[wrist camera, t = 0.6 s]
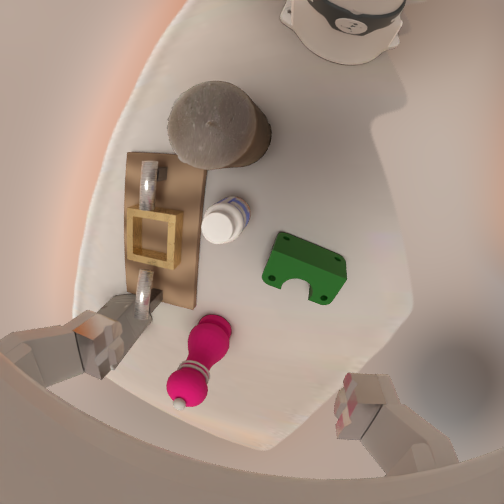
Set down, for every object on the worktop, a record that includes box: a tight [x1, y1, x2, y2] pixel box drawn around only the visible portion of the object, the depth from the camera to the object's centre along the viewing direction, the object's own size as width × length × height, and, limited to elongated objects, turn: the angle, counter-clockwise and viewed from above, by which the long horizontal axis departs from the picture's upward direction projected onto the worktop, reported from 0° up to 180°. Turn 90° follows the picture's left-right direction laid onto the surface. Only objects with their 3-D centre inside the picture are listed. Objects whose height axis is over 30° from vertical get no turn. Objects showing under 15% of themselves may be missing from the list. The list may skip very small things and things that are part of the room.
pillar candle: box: [167, 81, 272, 170], centre depth 31 cm, size 10×10×15 cm
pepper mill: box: [167, 315, 231, 410], centre depth 40 cm, size 7×7×20 cm
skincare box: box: [97, 294, 152, 370], centre depth 44 cm, size 8×7×16 cm
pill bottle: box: [201, 196, 250, 244], centre depth 37 cm, size 5×5×10 cm
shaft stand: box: [124, 152, 207, 320], centre depth 40 cm, size 26×14×9 cm, turn 172°
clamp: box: [262, 233, 347, 305], centre depth 40 cm, size 12×6×9 cm, turn 65°
